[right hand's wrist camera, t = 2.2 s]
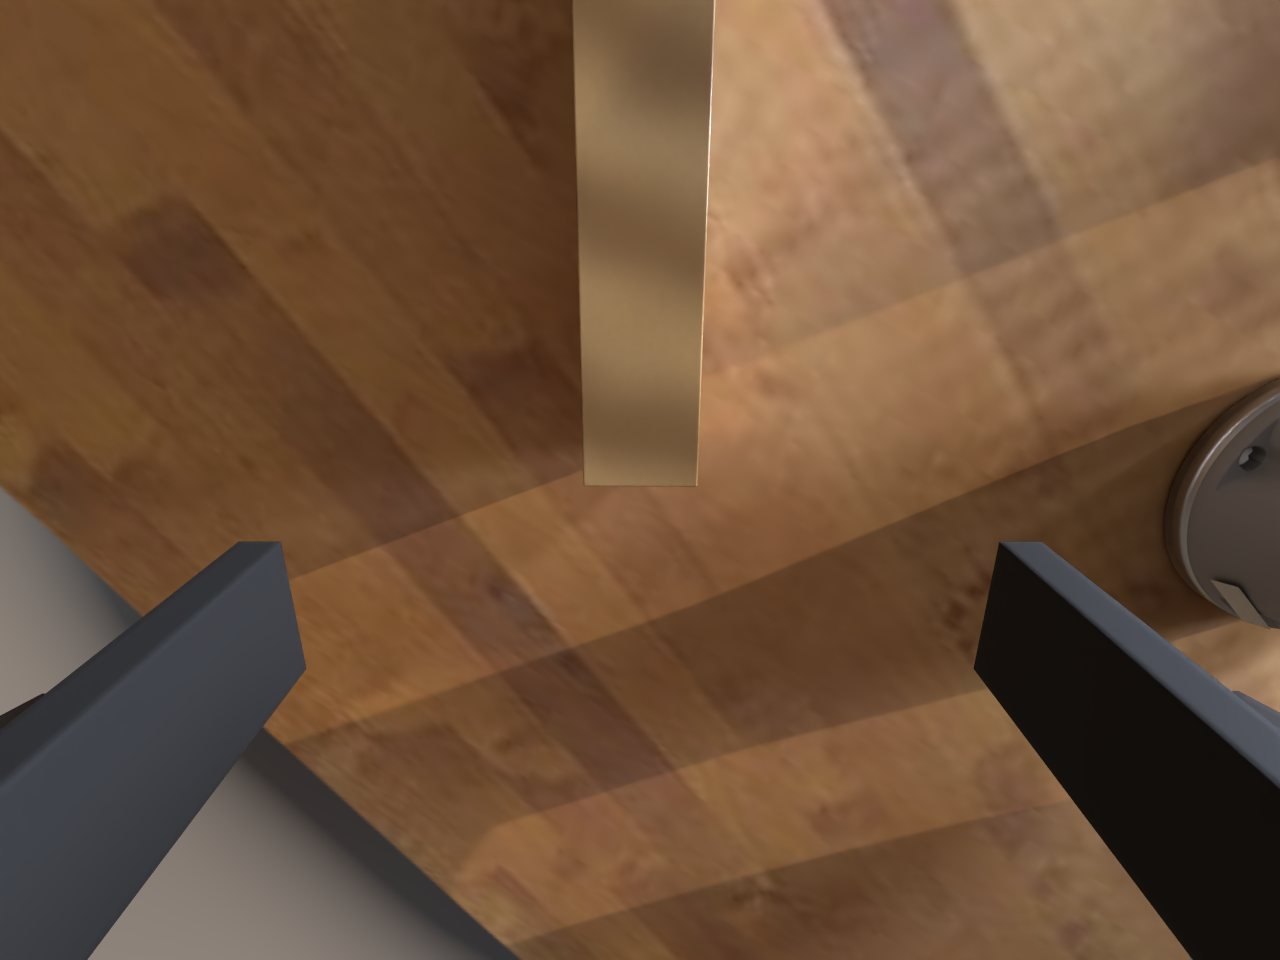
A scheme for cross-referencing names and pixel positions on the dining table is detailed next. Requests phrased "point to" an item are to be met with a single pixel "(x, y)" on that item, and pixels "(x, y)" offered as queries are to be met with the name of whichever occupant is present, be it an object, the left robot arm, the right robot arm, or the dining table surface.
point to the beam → (641, 233)
